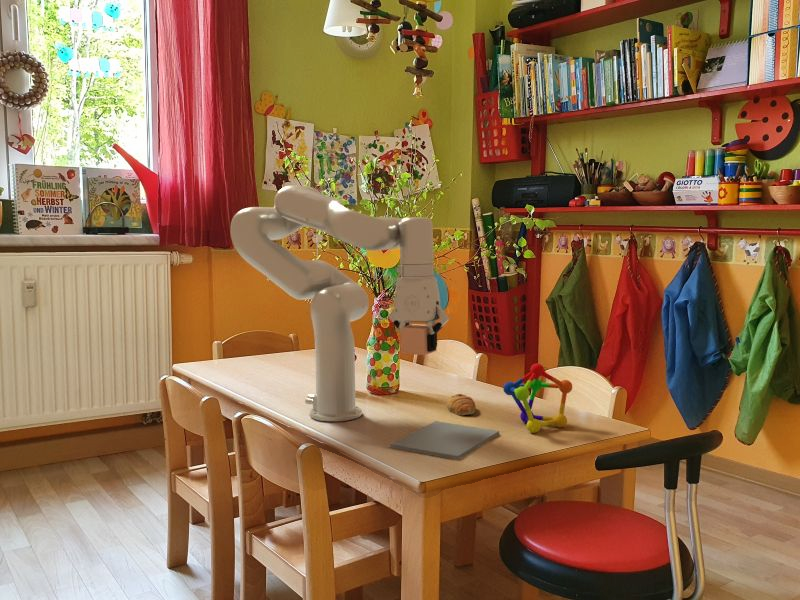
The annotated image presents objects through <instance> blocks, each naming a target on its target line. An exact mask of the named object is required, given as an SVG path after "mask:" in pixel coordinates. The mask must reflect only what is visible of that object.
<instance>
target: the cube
mask: <svg viewBox="0 0 800 600" xmlns="http://www.w3.org/2000/svg"><path fill="white" fill-rule="evenodd" d="M427 334H429V331H428V328H427V326H426V324H420V323H419V324H418V323H413V324H410V325H408V326H404V327H401V333H400V348H401V349H400V353H401V354H404V355H405V354H406V355H419V356H425V355H428V354H432V353H434V352H437V350H438V348H437V347H438V346H437V347H436V350H434V351H432V352H428V351H427Z"/></svg>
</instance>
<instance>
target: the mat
mask: <svg viewBox="0 0 800 600" xmlns="http://www.w3.org/2000/svg"><path fill="white" fill-rule="evenodd" d="M499 435H500V430H495V429H489V428H484V427H483V428H482V427H476V426H471V425H469V426H468V425H464V424H463V425H462V424H458V423H449V422H445V421H444V422H443V421H438V420H437V421H436V420H435V421H433V422H431V423H429V424H428V425H425V426H423V427H420V428H419V429H417V430H415V431H412V432H411V433H409V434H407V435H404V436H403V437H401V438H399V439H397V440H395V441H393V442H390V443H389V448H390V449H395V450H401V451H406V452H410V453H411V452H413V453H417V454H423V455H429V456H433V457H438V458H439V457H440V458H445V459H450V460H456V461H459V460H461V459H462V458H464V457H465V456H467V455H469V454H470V453H471V452H473V451H475V450H477V449H478V448H480V447H481V446H483V445H484V444H486V443H487V442H489V441H491V440H493V439H494V438H496V437H497V436H499Z"/></svg>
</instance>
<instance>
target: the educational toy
mask: <svg viewBox="0 0 800 600" xmlns="http://www.w3.org/2000/svg"><path fill="white" fill-rule="evenodd" d="M529 370H530V371H529V372H528V373H527V374H525V375H524V376H523V377H520V379H518V380H517V381H515V382H513V381H507V382H506V383H504V384H503V388H502V389H503V392H504V393H505V395H507V396H511V397H512V399H513V400H514V401H515V403H516V405H517V406H518V408H519V410H520V411H521V412H520V419H521V421H522V422H523V423H525V424H526V429H527V430H528V432H529V433H531V434H536V433H538V432H539V431H540V430H541V428H542V427H547V426H552V425H554V426H555V427H557V428H561V429H562V428H564V427H566V425H567V424H568V418H567V416H566V415H565V414H564V413H565V406H566V401H567V394H569V393H570V392H572V390H573V383H572V382H571V381H570V380H568V379H563V380H560V379H558V378H556V377H554V376H553V375H550V374H549V373H547V372H545V368H544V366H543V365H542V364H540V363H534V364H532V365H531V366H530V369H529ZM540 377H544V378H545V379H547V380H549V381H551V382H552V383H549V382H548V383H547V382H542V379H540ZM525 382H526V383H525ZM543 388H548V389H549V388H551V389H558V390H559V391H560V392H561V393H562V394H561V397H560V406H559V411H558V412H559V413H557V414H556V415H554V416H553V417H552V416H543V415H536V414H534V413H533V411H532V409H533V404H534V401H535V398H536V393H537V392H539V391H541V390H542V389H543ZM529 389H531V392H530V391H529ZM528 399H529V400H528Z"/></svg>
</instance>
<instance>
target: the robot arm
mask: <svg viewBox="0 0 800 600" xmlns="http://www.w3.org/2000/svg"><path fill="white" fill-rule="evenodd" d="M273 204H274V206H273V207H272V206H271V207H269V206H267V207H265V206H263V207H262V206H251V207H246V208H242V209H241V210H239V211H237V212H236V213H235V214H234V215H233V217H232V219H231V222H230V230H229V231H230V237H231V241H232V245H233V247H234V249H235V250H236V251H237V253H238V255H240V257H241V259H243V260H244V261H245V262H246V263H247V264H248V265H250V266H251V267H253V268H254V269H256V270H257V271H258V272H259V273H261V274H262V275H263V276H265V277H266V278H268V280H270V281H271V282H272V283H274V284H275V285H276V286H277V287H278V288H280V289H281V290H283V291H284V292H285V293H286V294H287V295H289V296H290V297H292V298H294V299H295V300H298V301H299V300H300V301H301V300H302V301H303V300H304V301H305V300H311V299H312V300H311V302H310V318H311V323H312V328H313V335H314V350H315V351H314V355H315V356H314V358H315V394H311V393H310V394H307V397H306V398H305V400H304V402H305V404H306V405H312V409H311V410H310V413H309V414H310V418H312V419H314V420H316V421H321V422H347V421H351V420H355V419H358V418H360V417H362V414H363V409H362V408H361V407H360V406H357V405H356V366H355V365H356V361H355V359H356V358H355V352H356V350H355V338H354V333H353V329H352V327H351V326H352V325H351V322H354V321H355V322H356V321H358V320H359V319H362V318H363V317H364V316H365V315H366V314H367V312H368V310H369V306H370V299H369V296H368V293H367V292H366V291H365V289H364V288H363V287H362V286H361V285H360V284H358V282H356V281H354V280H353V279H352V278H350V277H349V276H348V275H347V274H345V273H344V272H343V271H341V270H339V268H336V267H335V266H334V265H333V264H330V262H329V263H328V262H327V261H325V260H320V259H313V260H311V259H310V260H306V259H305V260H304V259H302V258H300V257H298V256H297V255H295V253H292V252H291V251H289V250H288V249H287V248H286V247H285V246H283V245H281V244H280V243H277V242H275V241H278V240H282V239H285V238H287V237H289V236H290V235H292V234H293V233H295V232H297V231H299V230H301V229H302V228H304V227H308V228H311V229H314V230H317V231H319V232H322V233H326V234H327V235H329V236H331V237H332V238H335V239H336V240H339V241H341V242H343V243H346V244H349V245H352V246H354V247H358V248H361V249H364V250H366V251H372V252H378V251H379V252H380V251H389V250H396V249H399V252H400V253H399V254H400V257H399V258H400V259H399V260H400V263H399V266H396V268H395V272H396V273H400V274H399V275H400V277H397V280H396V285H395V292H394V306H393V307H394V308H393V309H392V310H391V312H389V314H388V319H389V320H390V321H391V322H392V323H393V325H394V326H395V327H396V329H397V330H398V333H400V334H401V327H404V326H408V325H411V323H425V325H426V326H427V328H428V331H429V334H427V351H428V352H432V351H434V350H436V347H438V333H439V332H440V331H441V329H442V328H443V327H445V325H446V324H447V322H449V321H450V317H449V315H448V314H447V313H446V311H444V309H443V308H442V307H441V296H440V289H439V284H438V280H437V277H435V275H434V274H435V271H434V270H435V269H434V267H435V266H434V236H433V235H434V226H433V221H432V219H431V218H430V217H425V216H413V217H404V218H399V217H392V216H391V217H390V216H376V217H375V216H373V215H372V216H371V215H368V214H365V213H361V212H358V211H356V210H353V209H350V208H347V207H345V206H344V203H343V201H342V199H341V200H340V199H339V198H336V197H333V196H330V195H326V194H322V193H321V192H320V191H319V190H318V189H317V188H315V187H311V186H309V185H308V186H305V185H293V184H291V185H287V186H284V187H282V188H281V189H279V190H278V191H277V192H276V194H275V196H274V200H273ZM437 321H438V322H437ZM432 353H433V352H432Z"/></svg>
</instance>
